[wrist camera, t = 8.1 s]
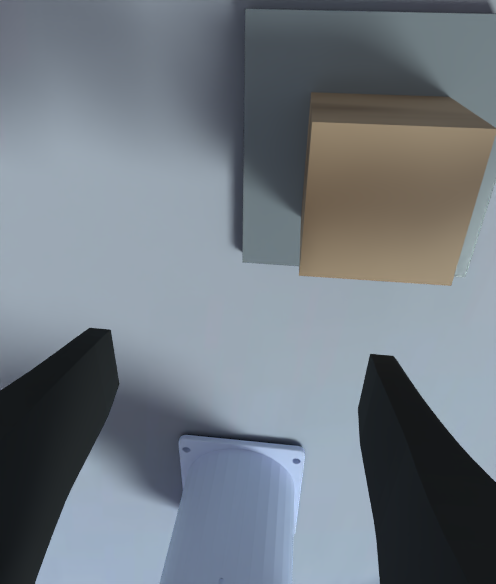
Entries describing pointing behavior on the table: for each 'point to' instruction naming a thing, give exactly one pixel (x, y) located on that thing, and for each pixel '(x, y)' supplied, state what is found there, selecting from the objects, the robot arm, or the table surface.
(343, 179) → the walnut cube
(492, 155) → the slate coaster
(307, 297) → the table surface
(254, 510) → the robot arm
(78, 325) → the table surface
